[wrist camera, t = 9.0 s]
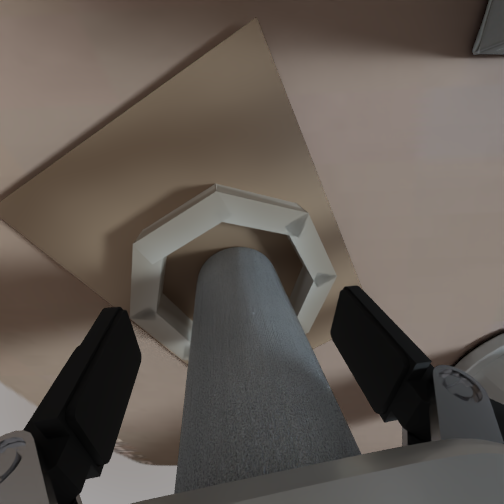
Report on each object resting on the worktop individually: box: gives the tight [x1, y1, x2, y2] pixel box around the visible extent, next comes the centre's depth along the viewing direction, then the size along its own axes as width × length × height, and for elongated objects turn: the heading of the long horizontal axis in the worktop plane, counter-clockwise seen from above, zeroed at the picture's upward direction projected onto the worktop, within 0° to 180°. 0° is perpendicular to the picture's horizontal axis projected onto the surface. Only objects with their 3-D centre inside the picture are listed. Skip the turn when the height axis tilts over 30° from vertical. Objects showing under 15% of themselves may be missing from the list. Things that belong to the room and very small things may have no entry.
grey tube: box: [174, 247, 362, 494], centre depth 8 cm, size 4×4×10 cm
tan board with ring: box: [0, 17, 363, 365], centre depth 12 cm, size 18×13×2 cm
